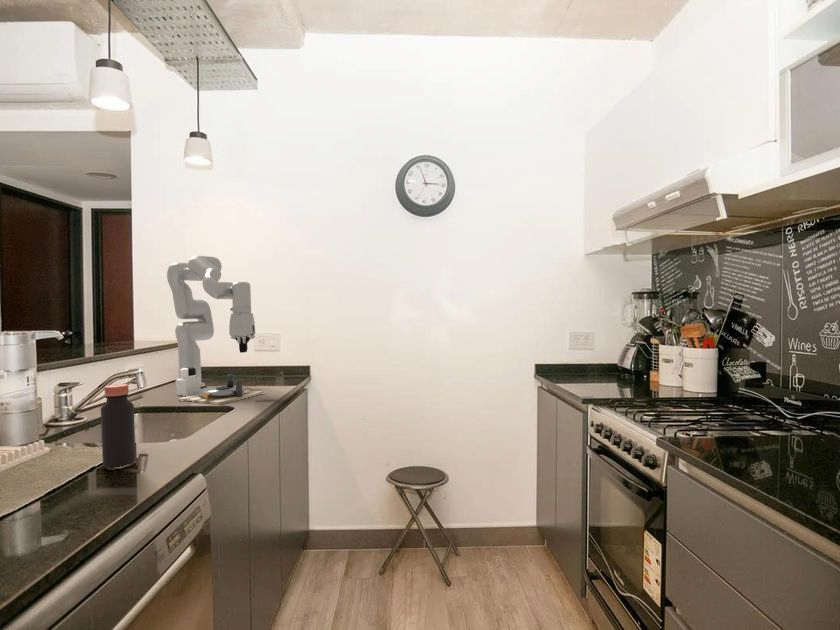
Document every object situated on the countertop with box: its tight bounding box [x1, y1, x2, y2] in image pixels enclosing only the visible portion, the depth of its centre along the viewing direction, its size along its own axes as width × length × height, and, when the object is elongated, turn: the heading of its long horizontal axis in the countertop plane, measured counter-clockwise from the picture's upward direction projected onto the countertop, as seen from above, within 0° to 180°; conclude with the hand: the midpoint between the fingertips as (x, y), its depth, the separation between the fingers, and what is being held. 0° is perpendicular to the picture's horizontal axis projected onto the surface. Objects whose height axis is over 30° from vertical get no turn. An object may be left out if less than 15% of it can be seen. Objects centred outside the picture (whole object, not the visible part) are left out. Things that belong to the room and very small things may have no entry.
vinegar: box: [100, 383, 137, 468], centre depth 116 cm, size 7×7×20 cm
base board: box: [177, 379, 265, 406], centre depth 201 cm, size 24×24×8 cm
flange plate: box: [199, 374, 246, 398], centre depth 200 cm, size 18×20×6 cm
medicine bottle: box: [175, 367, 202, 397], centre depth 208 cm, size 7×7×12 cm
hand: (243, 352), depth 206 cm, fingers closed
